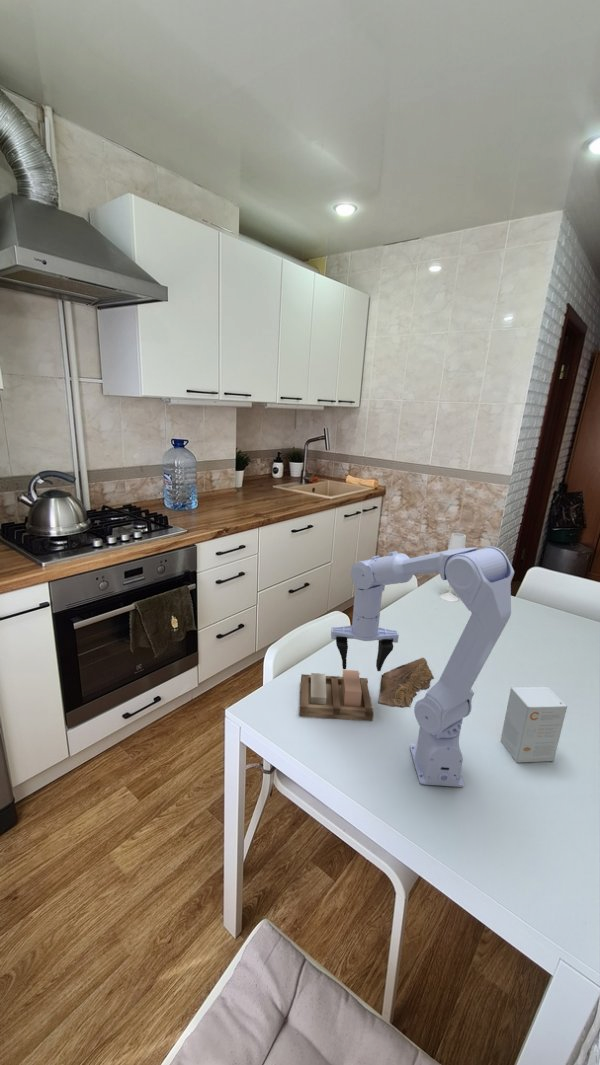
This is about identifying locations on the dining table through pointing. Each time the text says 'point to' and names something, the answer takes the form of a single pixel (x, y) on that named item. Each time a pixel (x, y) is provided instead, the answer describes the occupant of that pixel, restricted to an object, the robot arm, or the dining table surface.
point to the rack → (331, 699)
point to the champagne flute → (455, 543)
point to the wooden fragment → (404, 683)
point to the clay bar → (351, 688)
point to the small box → (533, 724)
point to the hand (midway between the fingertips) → (361, 667)
